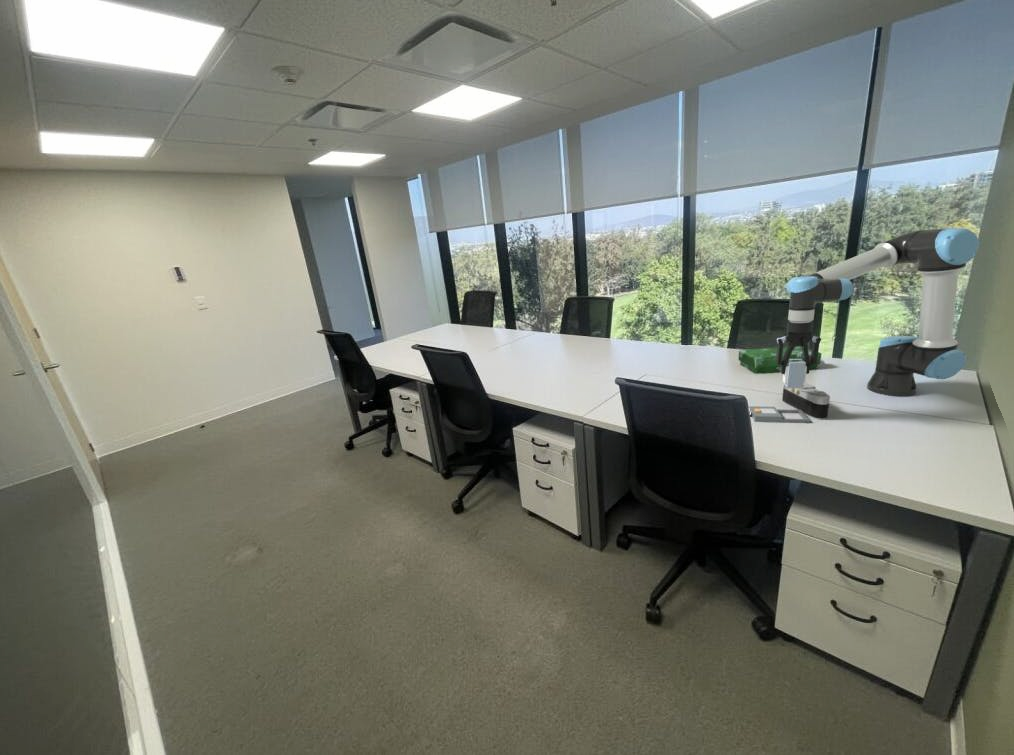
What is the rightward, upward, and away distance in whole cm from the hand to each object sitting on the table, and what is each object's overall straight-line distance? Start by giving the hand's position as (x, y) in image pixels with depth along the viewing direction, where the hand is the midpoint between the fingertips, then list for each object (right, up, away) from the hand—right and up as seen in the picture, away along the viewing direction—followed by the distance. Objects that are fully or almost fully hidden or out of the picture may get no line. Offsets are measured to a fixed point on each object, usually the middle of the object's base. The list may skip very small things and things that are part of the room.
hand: (793, 381), depth 153 cm
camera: (+12, -11, +10) cm, 19 cm away
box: (+32, +5, +57) cm, 65 cm away
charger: (0, -2, +1) cm, 2 cm away
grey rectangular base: (-4, -14, +6) cm, 16 cm away
